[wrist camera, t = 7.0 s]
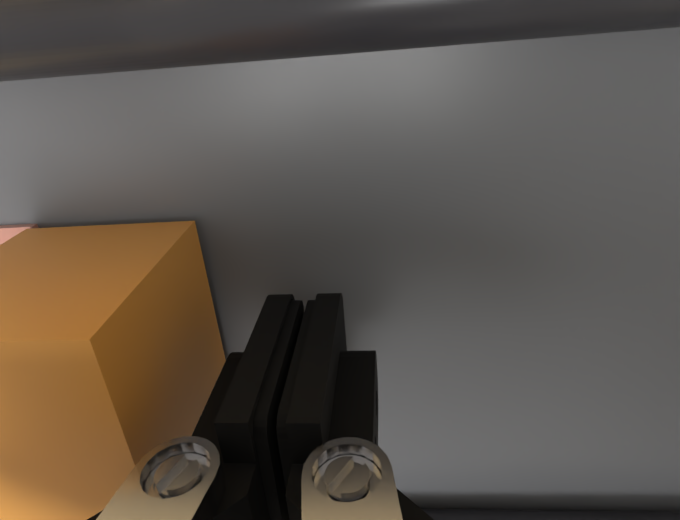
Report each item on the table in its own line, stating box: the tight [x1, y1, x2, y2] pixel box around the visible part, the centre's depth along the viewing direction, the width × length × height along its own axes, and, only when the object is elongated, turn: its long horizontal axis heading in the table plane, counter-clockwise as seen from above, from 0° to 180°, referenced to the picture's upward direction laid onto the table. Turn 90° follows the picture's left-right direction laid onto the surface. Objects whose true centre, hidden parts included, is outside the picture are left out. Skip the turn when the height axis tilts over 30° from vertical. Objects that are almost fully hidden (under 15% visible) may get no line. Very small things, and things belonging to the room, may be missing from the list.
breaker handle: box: [0, 221, 226, 520], centre depth 11 cm, size 4×6×4 cm, turn 5°
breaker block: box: [0, 0, 680, 520], centre depth 12 cm, size 22×18×4 cm
